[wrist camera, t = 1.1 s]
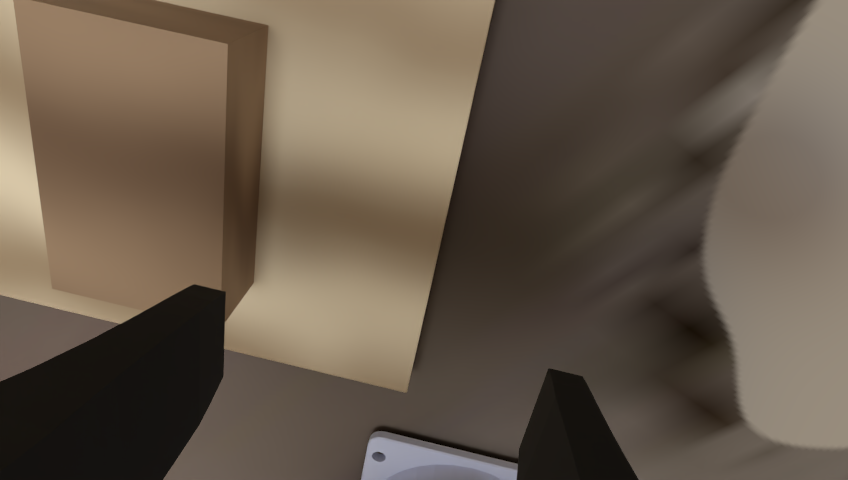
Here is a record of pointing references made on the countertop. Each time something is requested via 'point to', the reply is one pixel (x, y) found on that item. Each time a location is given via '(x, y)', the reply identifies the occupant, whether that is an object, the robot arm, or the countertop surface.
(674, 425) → the countertop surface
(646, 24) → the countertop surface
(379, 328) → the bench board
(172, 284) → the tan cardboard box
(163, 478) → the robot arm
